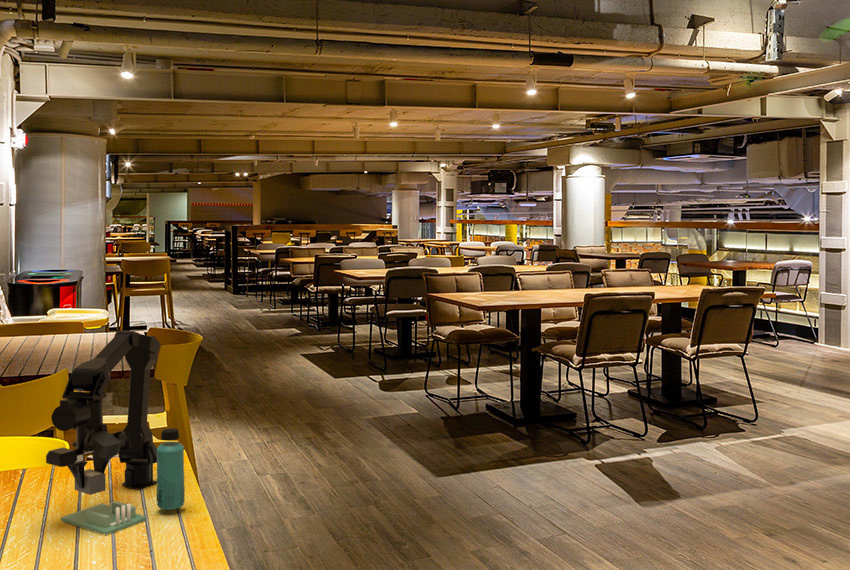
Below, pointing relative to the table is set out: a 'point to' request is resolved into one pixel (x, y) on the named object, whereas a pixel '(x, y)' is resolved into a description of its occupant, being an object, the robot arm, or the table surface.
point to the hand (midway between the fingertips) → (90, 485)
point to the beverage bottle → (170, 471)
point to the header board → (105, 517)
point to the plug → (92, 482)
